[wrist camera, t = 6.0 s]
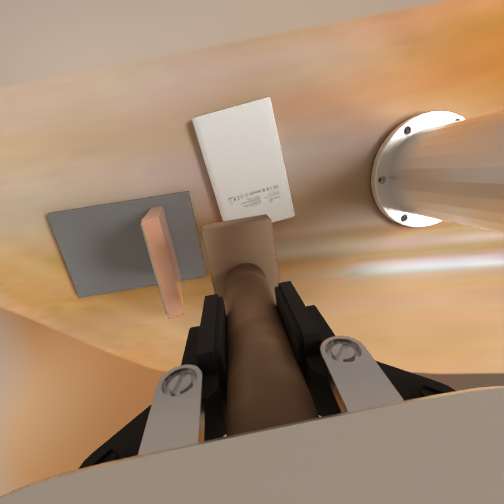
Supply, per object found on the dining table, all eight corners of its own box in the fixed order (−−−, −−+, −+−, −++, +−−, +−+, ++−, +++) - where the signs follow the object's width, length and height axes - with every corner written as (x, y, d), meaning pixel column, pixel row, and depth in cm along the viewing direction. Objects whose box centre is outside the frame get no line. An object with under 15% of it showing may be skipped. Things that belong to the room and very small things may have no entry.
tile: (163, 205, 28) (158, 217, 18) (180, 273, 30) (184, 314, 21) (149, 207, 27) (138, 221, 18) (168, 276, 30) (166, 319, 20)
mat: (188, 191, 28) (187, 191, 28) (206, 273, 31) (206, 276, 31) (50, 212, 28) (45, 213, 27) (82, 294, 31) (79, 298, 30)
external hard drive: (268, 100, 27) (292, 214, 31) (192, 121, 27) (226, 232, 31) (270, 96, 25) (296, 216, 29) (190, 118, 25) (226, 236, 29)
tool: (266, 214, 16) (437, 389, 3) (278, 309, 19) (412, 655, 5) (204, 224, 16) (106, 456, 3) (223, 319, 18) (219, 704, 5)
